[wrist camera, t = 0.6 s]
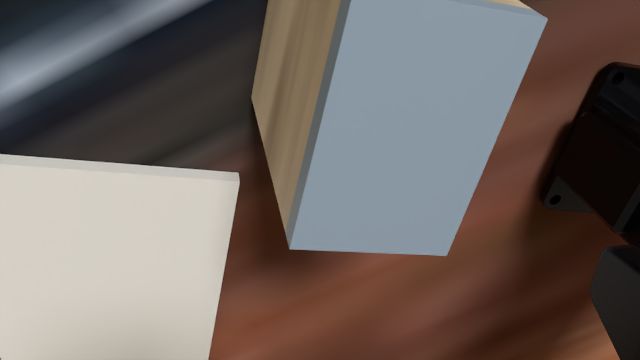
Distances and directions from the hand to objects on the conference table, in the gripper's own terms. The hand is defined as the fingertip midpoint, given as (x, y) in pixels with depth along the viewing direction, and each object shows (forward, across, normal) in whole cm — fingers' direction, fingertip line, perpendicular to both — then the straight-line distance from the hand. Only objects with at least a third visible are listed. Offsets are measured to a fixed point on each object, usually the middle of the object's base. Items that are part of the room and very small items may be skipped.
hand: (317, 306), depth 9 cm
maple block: (+12, -2, 0) cm, 12 cm away
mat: (+12, +10, +11) cm, 19 cm away
